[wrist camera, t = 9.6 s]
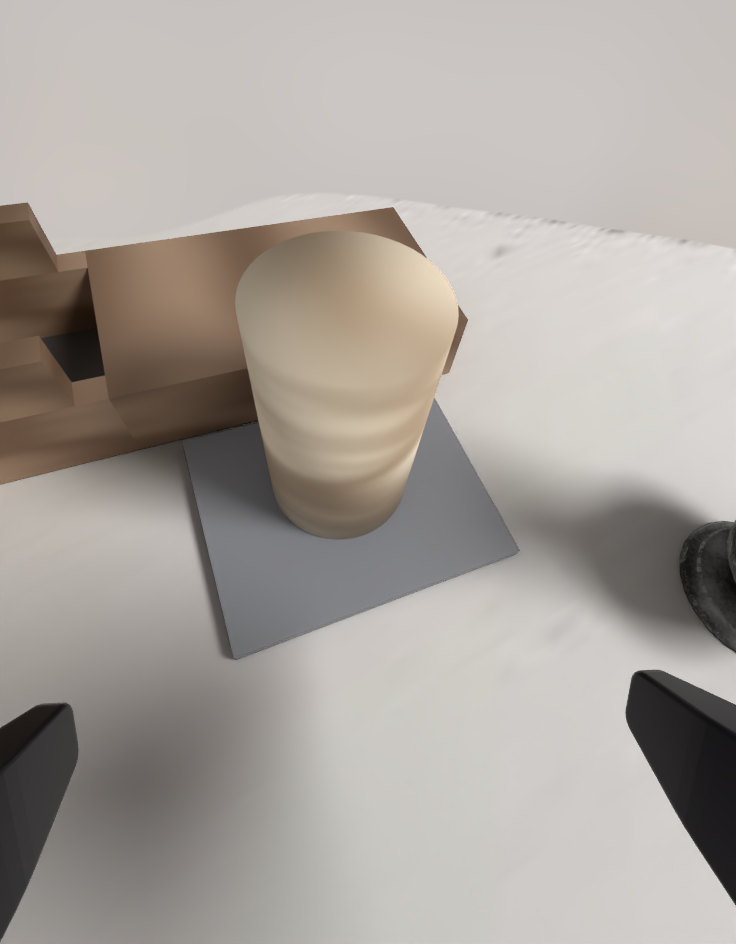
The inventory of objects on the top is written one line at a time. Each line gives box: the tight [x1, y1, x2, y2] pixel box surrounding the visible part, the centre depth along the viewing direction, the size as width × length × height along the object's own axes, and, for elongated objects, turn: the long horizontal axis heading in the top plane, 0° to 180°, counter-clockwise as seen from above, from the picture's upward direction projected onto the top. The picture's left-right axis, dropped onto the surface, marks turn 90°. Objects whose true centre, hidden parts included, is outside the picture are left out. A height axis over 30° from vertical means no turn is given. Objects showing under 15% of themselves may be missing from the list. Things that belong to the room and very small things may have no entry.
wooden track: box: [0, 203, 468, 484], centre depth 16 cm, size 28×8×5 cm, turn 111°
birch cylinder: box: [235, 231, 459, 540], centre depth 13 cm, size 5×5×8 cm
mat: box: [182, 398, 520, 660], centre depth 17 cm, size 10×8×1 cm
